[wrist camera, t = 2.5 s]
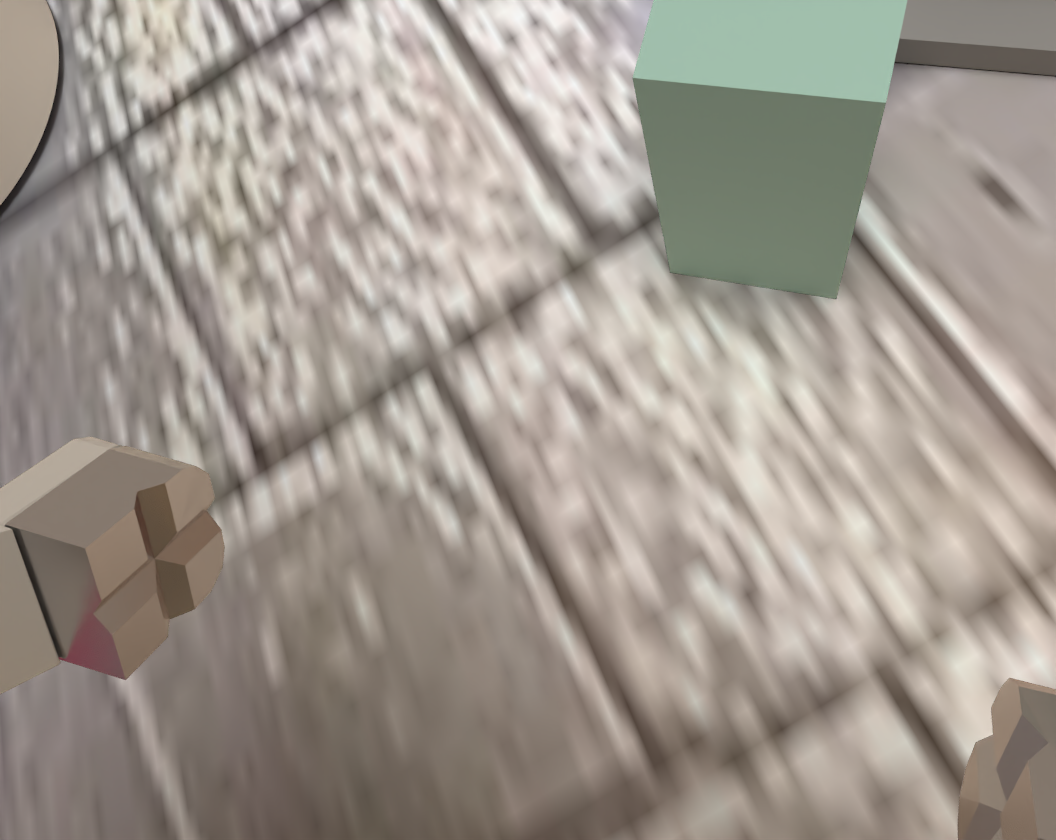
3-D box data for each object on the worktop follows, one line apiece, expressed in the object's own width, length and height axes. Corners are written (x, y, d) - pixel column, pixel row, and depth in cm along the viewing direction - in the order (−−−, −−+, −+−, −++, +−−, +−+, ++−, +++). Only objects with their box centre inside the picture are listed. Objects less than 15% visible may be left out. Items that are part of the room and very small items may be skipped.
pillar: (670, 272, 25) (632, 77, 17) (706, 130, 26) (687, -123, 18) (836, 298, 24) (885, 102, 16) (867, 148, 25) (931, -116, 16)
